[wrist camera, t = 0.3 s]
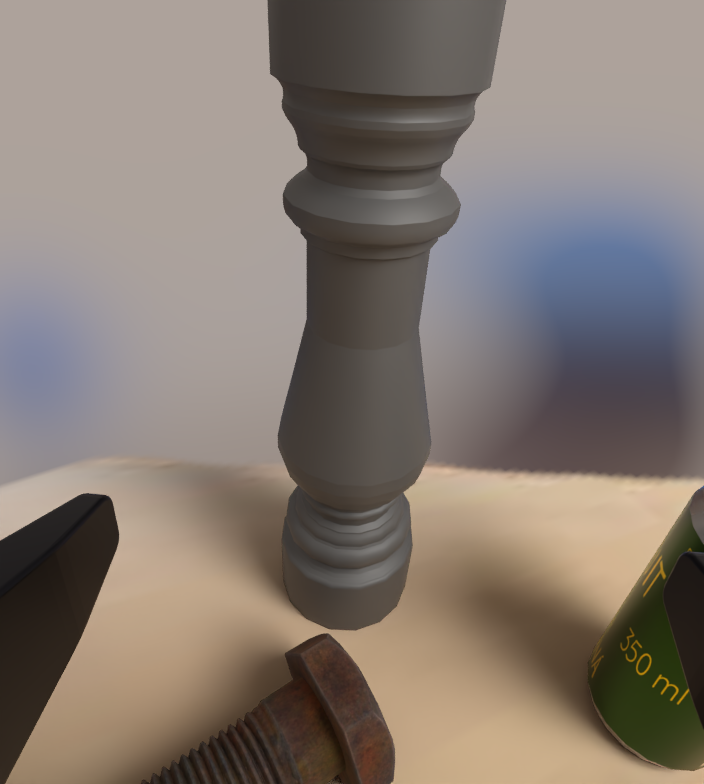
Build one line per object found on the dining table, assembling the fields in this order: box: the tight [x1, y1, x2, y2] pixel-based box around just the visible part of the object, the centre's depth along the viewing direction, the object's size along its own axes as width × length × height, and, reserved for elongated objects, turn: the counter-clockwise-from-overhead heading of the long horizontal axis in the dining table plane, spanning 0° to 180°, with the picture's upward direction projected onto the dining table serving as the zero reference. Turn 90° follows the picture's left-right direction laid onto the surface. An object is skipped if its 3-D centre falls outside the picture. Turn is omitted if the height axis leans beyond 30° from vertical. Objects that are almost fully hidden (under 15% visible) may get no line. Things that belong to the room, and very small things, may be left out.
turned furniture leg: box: [268, 0, 506, 630], centre depth 19 cm, size 6×6×25 cm
